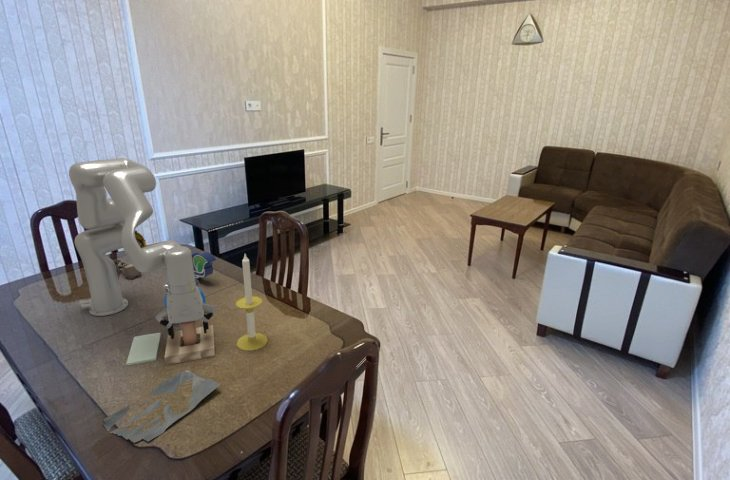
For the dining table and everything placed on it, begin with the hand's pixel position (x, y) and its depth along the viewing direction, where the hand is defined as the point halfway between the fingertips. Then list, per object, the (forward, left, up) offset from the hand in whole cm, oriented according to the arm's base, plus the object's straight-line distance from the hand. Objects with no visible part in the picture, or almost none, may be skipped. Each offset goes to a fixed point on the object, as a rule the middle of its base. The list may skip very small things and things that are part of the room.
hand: (189, 333), depth 126 cm
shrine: (-24, +83, -6) cm, 87 cm away
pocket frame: (0, 0, -5) cm, 5 cm away
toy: (-28, +69, -6) cm, 75 cm away
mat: (-14, +4, -5) cm, 15 cm away
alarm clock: (-2, +21, -6) cm, 22 cm away
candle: (+19, -3, -6) cm, 20 cm away
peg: (0, 0, -5) cm, 5 cm away
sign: (-2, +57, -6) cm, 57 cm away
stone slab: (-6, -25, -6) cm, 26 cm away
